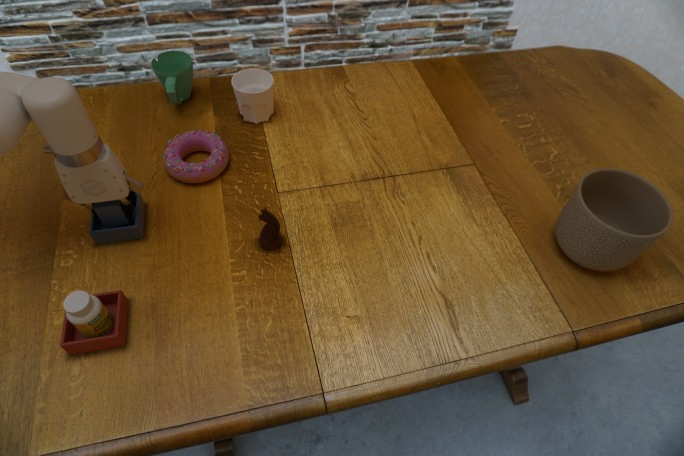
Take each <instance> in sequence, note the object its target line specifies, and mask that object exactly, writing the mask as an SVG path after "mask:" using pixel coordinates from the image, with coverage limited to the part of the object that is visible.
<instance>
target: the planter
mask: <svg viewBox="0 0 684 456" xmlns="http://www.w3.org/2000/svg"><path fill="white" fill-rule="evenodd" d="M674 214H675V213H674V209H673V206H672V204H671V202H670V200H669V199H668V197H667V196H666V194H665V193H664V192H663V191H662V190H661V189H660V188H659V187H657V186H656V185H655V184H654V183H653V182H651V181H650V180H649V179H646V178H644V177H643V176H641V175H639V174H638V173H635V172H632V171H629V170H626V169H623V168H622V169H621V168H615V167H601V168H595V169H592V170H589V171H588V172H586V173H585V174H584V175H583V176H582V177H581V179H580V180H579V181H578V183H577V184H576V186H575V187H574V189H573V190H572V192H571V194H570V195H569V197H568V199H567V200H566V203H565V204H564V206H563V207H562V209H561V211H560V213H559V214H558V217H557V219H556V223H555V227H554V233H555V240H556V241H557V244H558V246H559V248H560V249H561V251H562V252H563V254H564V255H565V256H566V257H567V258H568V259H570V261H572V262H573V263H575V264H577V265H579V266H580V267H583V268H585V269H588V270H591V271H595V272H604V273H605V272H613V271H619V270H622V269H623V268H625V267H627V266H629V265H630V264H632V263H633V262H635V260H637V259H638V258H639V257H640V256H641V255H643V254H644V253H645V252H646V251H648V249H650V248H651V247H652V246H653V245H654V244H655V243H656V242H657V241H658V240H660V239H661V238H662V237H663V236H664V235H665V234H666V233H667V232H668V231H669V230H670V228H671V227H672V225H673V223H674V218H675V217H674Z"/></svg>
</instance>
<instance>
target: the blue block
mask: <svg viewBox="0 0 684 456" xmlns="http://www.w3.org/2000/svg"><path fill="white" fill-rule="evenodd" d="M94 210H95V212H96V213H97V215H98V217H99V218H100V220H101V221H102V223H103V225H104V226H105V227H111V226H119V225H126V224H129V219H130V218H127V216H126V214H125V212H124V210H123V208H122V202H121V201H120V200H119V199H118V200H111V201H104V202H96V203H94Z"/></svg>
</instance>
